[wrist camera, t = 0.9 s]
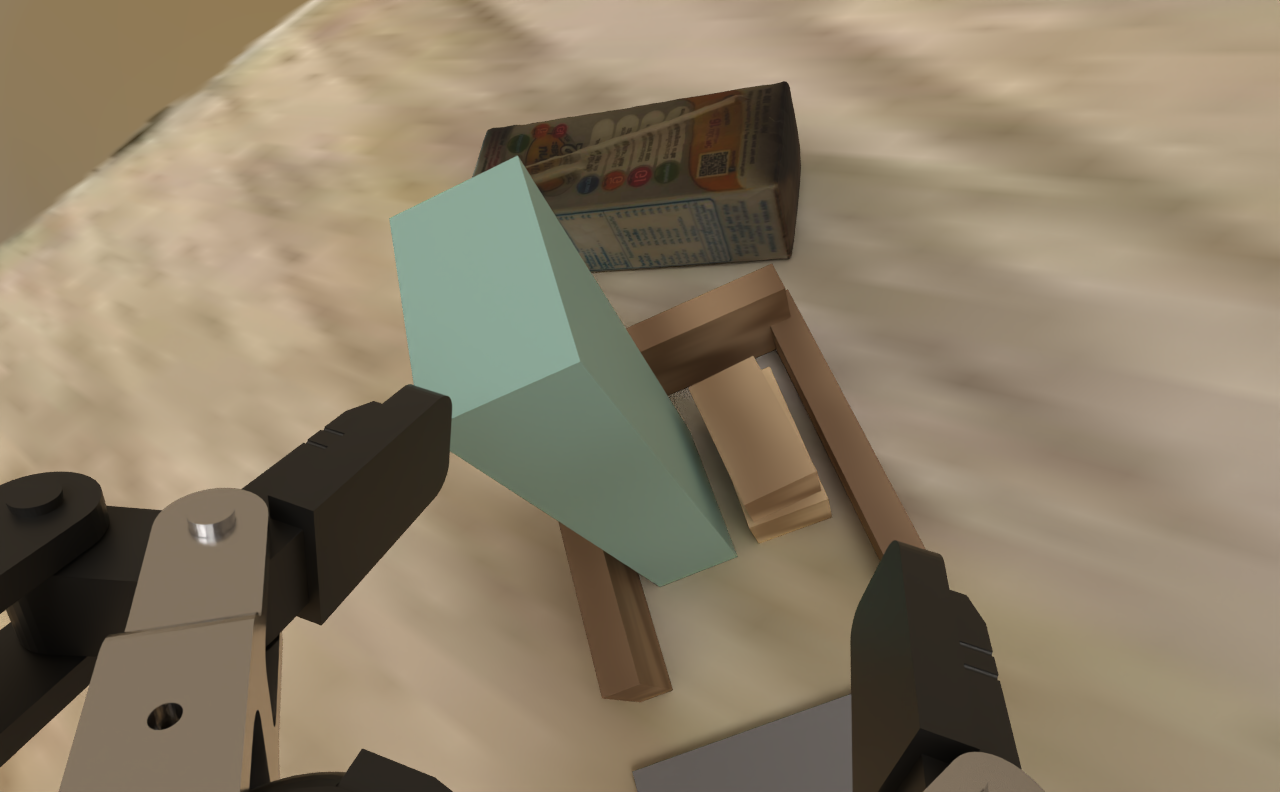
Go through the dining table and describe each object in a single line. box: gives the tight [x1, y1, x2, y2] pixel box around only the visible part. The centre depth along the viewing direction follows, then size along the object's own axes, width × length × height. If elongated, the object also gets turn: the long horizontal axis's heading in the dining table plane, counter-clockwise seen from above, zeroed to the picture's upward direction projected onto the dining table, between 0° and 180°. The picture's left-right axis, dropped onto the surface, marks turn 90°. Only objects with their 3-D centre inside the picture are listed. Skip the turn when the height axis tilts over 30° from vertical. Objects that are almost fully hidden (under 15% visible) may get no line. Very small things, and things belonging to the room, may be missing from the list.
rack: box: [559, 264, 926, 702], centre depth 31 cm, size 14×16×5 cm
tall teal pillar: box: [389, 156, 737, 587], centre depth 25 cm, size 4×7×20 cm, turn 17°
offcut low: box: [730, 367, 832, 544], centre depth 32 cm, size 4×7×3 cm, turn 16°
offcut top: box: [688, 356, 821, 522], centre depth 30 cm, size 3×6×3 cm, turn 21°
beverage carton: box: [472, 81, 801, 272], centre depth 40 cm, size 8×19×7 cm, turn 82°
